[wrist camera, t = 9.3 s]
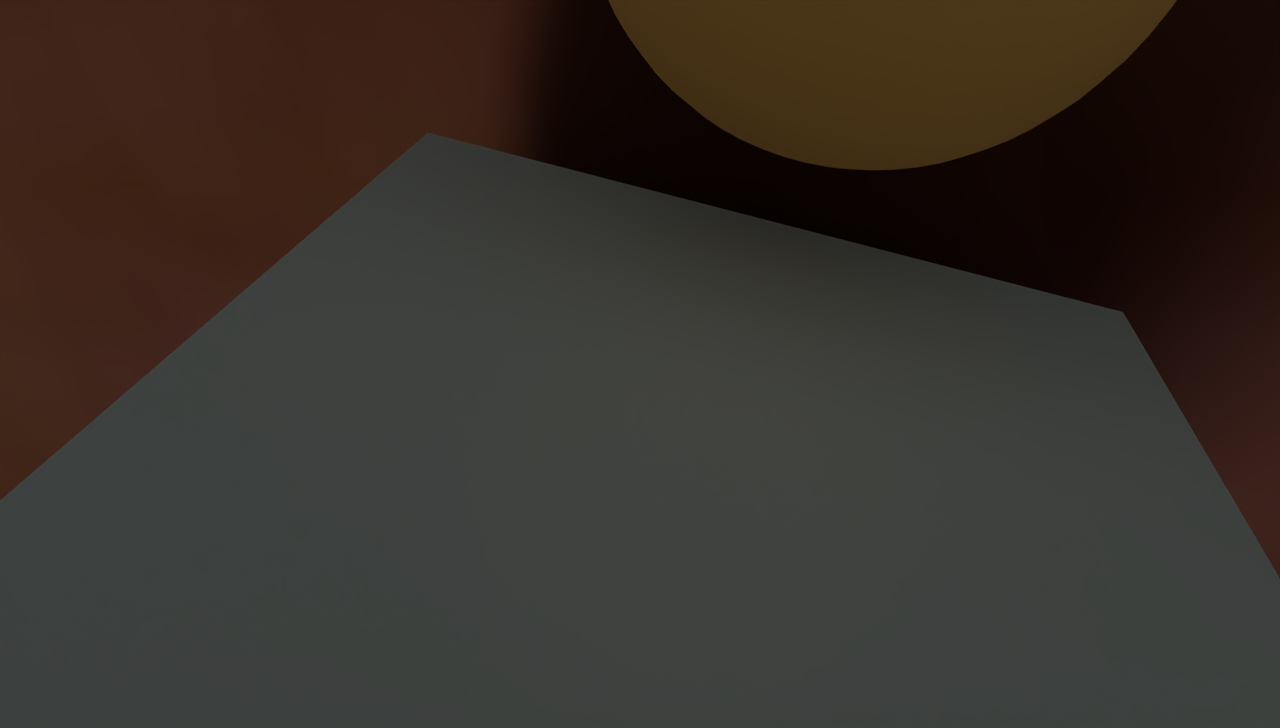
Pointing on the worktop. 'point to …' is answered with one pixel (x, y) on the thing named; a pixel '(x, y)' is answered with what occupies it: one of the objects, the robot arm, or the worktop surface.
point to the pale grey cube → (631, 491)
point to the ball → (884, 69)
